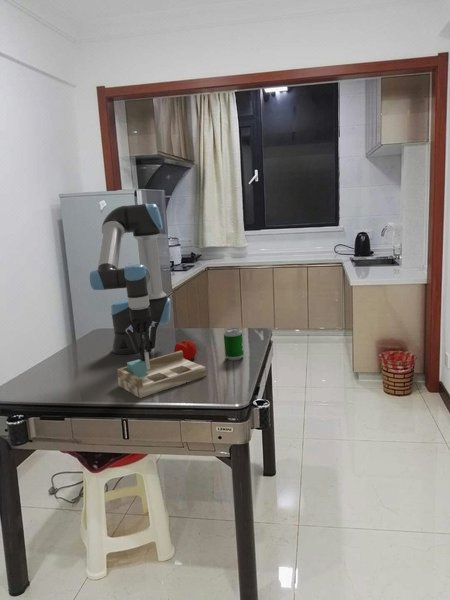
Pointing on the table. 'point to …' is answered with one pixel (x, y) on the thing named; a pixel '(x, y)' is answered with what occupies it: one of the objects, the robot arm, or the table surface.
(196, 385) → the table surface
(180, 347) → the tomato
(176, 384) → the board
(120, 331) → the robot arm
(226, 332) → the soda can
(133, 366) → the teal block
